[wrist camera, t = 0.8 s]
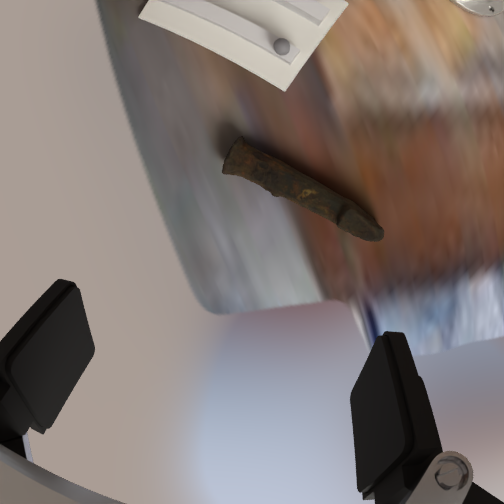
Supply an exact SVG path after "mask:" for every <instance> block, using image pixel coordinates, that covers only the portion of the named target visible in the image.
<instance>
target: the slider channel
mask: <svg viewBox="0 0 504 504" xmlns="http://www.w3.org/2000/svg"><path fill="white" fill-rule="evenodd" d="M348 4H349V3H347V2H346V1H344V0H149V1H148V2H147V4H146V6H145V7H144V9H143V10H142V12H141V14H140V15H139V17H138V18H140V19H143V20H145V21H148V22H150V23H152V24H155V25H157V26H160V27H162V28H164V29H167V30H169V31H171V32H173V33H176V34H178V35H180V36H182V37H184V38H187V39H189V40H191V41H193V42H195V43H197V44H199V45H201V46H203V47H205V48H207V49H209V50H211V51H213V52H215V53H217V54H219V55H221V56H223V57H225V58H227V59H229V60H231V61H232V62H234V63H236V64H238V65H240V66H242V67H243V68H245V69H247V70H249V71H250V72H252V73H254V74H256V75H257V76H259V77H261V78H263V79H264V80H266V81H268V82H269V83H271V84H273V85H274V86H276V87H278V88H279V89H281V90H282V91H284V92H285V91H286V89H287V88H288V87H289V85H290V84H291V82H292V81H293V79H294V78H295V77H296V75H297V74H298V72H299V71H300V69H301V68H302V67H303V65H304V64H305V62H306V61H307V60H308V58H309V57H310V55H311V54H312V53H313V51H314V50H315V48H316V47H317V46H318V44H319V43H320V42H321V40H322V39H323V38H324V36H325V35H326V33H327V32H328V31H329V29H330V28H331V27H332V25H333V24H334V23H335V21H336V20H337V19H338V17H339V16H340V15H341V14H342V12H343V11H344V10H345V8H346V7H347V6H348Z"/></svg>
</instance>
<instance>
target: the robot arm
mask: <svg viewBox="0 0 504 504" xmlns="http://www.w3.org/2000/svg"><path fill="white" fill-rule="evenodd" d="M450 1H451V2H453V3H454V4H455V5H457V6H458V7H460V8H461V9H463V10H465V11H467V12H469V13H472V14H474V15H478V16H494V15H497V14H499V13H501V12H503V11H504V0H450ZM94 352H95V346H94V342H93V339H92V335H91V332H90V328H89V325H88V321H87V317H86V313H85V309H84V305H83V301H82V297H81V292H80V289H79V288H77V286H76V284H75V283H74V282H71V281H67V280H63V279H58V280H57V281H55V282H54V284H52V285H51V287H50V288H49V289H48V290H47V291H46V292H45V293H44V294H43V295H42V296H41V297H40V298H39V299H38V300H37V301H36V302H35V303H34V304H33V305H32V306H31V307H30V309H29V310H28V311H27V312H26V313H25V314H24V315H23V316H22V317H21V318H20V320H19V321H18V322H17V323H16V324H15V325H14V327H12V329H11V330H10V331H9V332H8V333H7V334H6V336H5V337H4V338H3V339H2V340H1V341H0V504H125V503H122V502H120V501H117V500H114V499H111V498H108V497H106V496H103V495H101V494H98V493H96V492H93V491H91V490H88V489H86V488H84V487H81V486H79V485H77V484H74V483H72V482H70V481H68V480H66V479H64V478H61V477H59V476H57V475H55V474H53V473H51V472H49V471H47V470H45V469H43V468H41V467H39V466H38V465H36V464H34V463H33V458H32V454H31V449H30V444H29V440H28V434H27V431H28V429H29V427H31V428H32V429H33V430H35V431H37V432H39V433H41V434H44V433H45V431H46V429H48V428H50V427H51V426H52V425H53V423H54V421H55V419H56V418H57V416H58V414H59V412H60V411H61V409H62V407H63V406H64V404H65V402H66V400H67V399H68V397H69V395H70V394H71V392H72V390H73V388H74V387H75V385H76V383H77V382H78V380H79V378H80V377H81V375H82V373H83V372H84V370H85V368H86V367H87V365H88V364H89V362H90V360H91V359H92V357H93V355H94ZM350 404H351V413H352V423H353V434H354V447H355V460H356V476H357V489H358V491H359V492H362V495H363V500H372V499H375V504H504V503H503V502H502V501H500V500H499V499H497V498H496V497H494V496H493V495H491V494H490V493H488V492H487V491H485V490H484V489H482V488H481V487H479V486H478V485H477V484H475V483H474V482H472V480H473V469H472V466H471V464H470V462H469V461H468V459H467V458H466V457H464V456H463V455H462V454H460V453H458V452H454V451H446V452H443V451H442V447H441V442H440V438H439V434H438V430H437V427H436V423H435V419H434V416H433V412H432V408H431V405H430V402H429V399H428V395H427V391H426V388H425V385H424V382H423V380H422V378H421V377H420V376H418V373H417V369H416V367H415V363H414V360H413V357H412V354H411V351H410V348H409V345H408V342H407V339H406V337H405V335H404V333H402V332H389V331H386V332H384V333H383V335H382V336H378V337H377V339H376V341H375V343H374V345H373V347H372V350H371V352H370V354H369V356H368V358H367V361H366V363H365V365H364V367H363V369H362V371H361V373H360V375H359V377H358V379H357V381H356V383H355V385H354V387H353V390H352V392H351V396H350Z"/></svg>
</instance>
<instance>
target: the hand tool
mask: <svg viewBox="0 0 504 504" xmlns="http://www.w3.org/2000/svg"><path fill="white" fill-rule="evenodd" d="M222 173H223V174H230V175H237V176H241V177H243V178H245V179H247V180H250V181H251V182H254V183H256V184H258V185H260V186H261V187H263V188H264V189H265V190H268V191H269V192H271V194H272V195H273V196H275V197H279V196H281V197H285V198H287V199H288V200H291V201H293V202H294V203H296V204H298V205H300V206H302V207H304V208H307V209H309V210H310V211H312V212H314V213H316V214H319V215H320V216H322V217H324V218H326V219H328V220H330V221H332V222H333V223H336V225H337V227H339V228H340V229H342V230H344V231H346V232H349V233H351V234H352V235H353V236H356V237H360V238H361V239H363V240H366V241H374V242H375V241H376V242H377V241H380V240H382V239H383V237H384V230H383V228H382V227H381V226H380V225H378V224H377V223H376V222H375V220H374V218H372V217H370V216H369V215H368V214H367V212H365V211H364V210H362V209H361V208H360V207H359V206H358V205H357V204H355V203H354V202H353V201H352V200H350V199H347V198H344V197H342V196H341V195H339V194H337V193H336V192H334V191H332V190H331V189H329V188H328V187H326V186H324V185H322V184H321V183H319V182H317V181H316V180H314V179H312V178H311V177H309V176H307V175H304V174H302V173H301V172H299V171H297V170H295V169H294V168H292V167H291V166H289V165H287V164H286V163H284V162H282V161H281V160H279V159H276V158H274V157H272V156H270V155H267V154H265V153H263V152H261V151H259V150H257V149H255V148H253V147H252V146H250V145H248V144H247V143H246V142H245V140H244V138H243V136H241V137H239V138H238V139H237V140H236V142H235V143H234V144H233V146H232V147H231V149H230V150H229V152H228V154H227V156H226V158H225V160H224V164H223V170H222Z"/></svg>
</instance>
